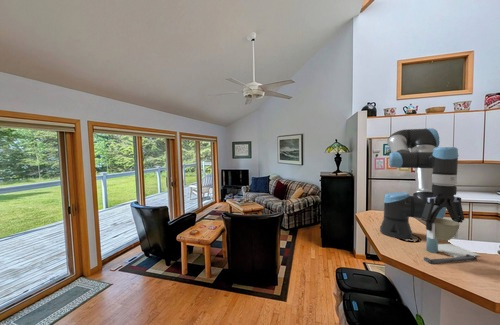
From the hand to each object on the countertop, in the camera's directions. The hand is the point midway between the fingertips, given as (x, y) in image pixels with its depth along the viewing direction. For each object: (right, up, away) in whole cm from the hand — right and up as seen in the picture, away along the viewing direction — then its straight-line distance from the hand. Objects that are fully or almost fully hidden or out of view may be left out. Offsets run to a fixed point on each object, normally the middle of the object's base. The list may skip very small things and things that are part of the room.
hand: (442, 237), depth 87 cm
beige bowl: (0, -1, 0) cm, 1 cm away
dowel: (+5, -10, +10) cm, 15 cm away
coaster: (+15, -10, +10) cm, 20 cm away
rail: (+5, -11, +1) cm, 12 cm away
